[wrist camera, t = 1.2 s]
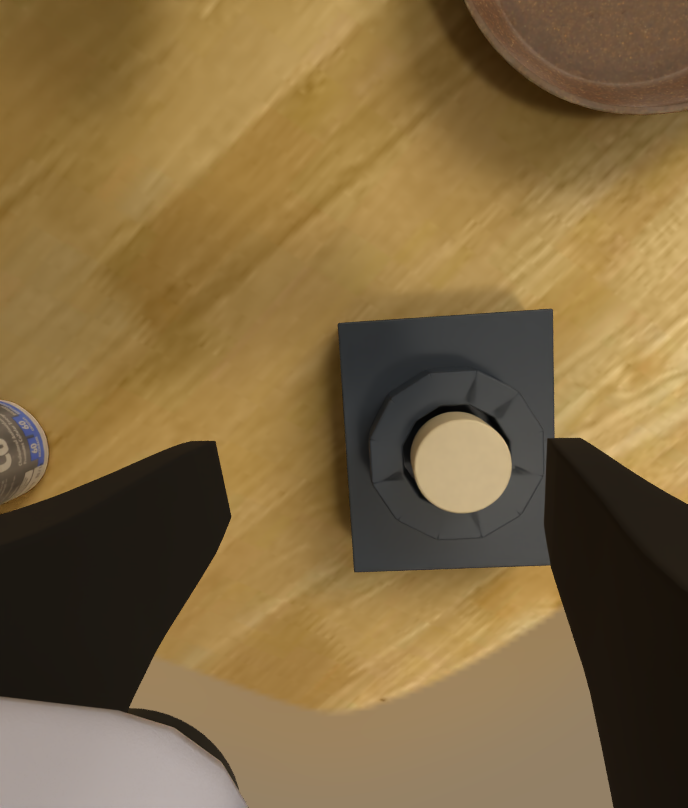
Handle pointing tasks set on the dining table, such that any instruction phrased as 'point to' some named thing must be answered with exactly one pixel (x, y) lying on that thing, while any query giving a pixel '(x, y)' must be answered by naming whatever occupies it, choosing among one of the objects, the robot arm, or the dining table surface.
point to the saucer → (595, 49)
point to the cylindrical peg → (460, 462)
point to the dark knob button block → (433, 395)
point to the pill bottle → (20, 451)
